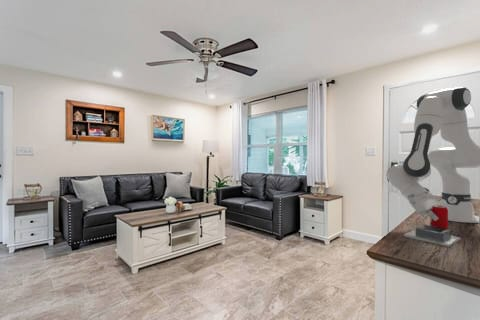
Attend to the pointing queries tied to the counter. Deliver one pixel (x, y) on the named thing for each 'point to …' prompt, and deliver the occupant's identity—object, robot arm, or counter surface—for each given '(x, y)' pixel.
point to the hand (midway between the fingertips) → (440, 218)
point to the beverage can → (440, 216)
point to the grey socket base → (433, 235)
